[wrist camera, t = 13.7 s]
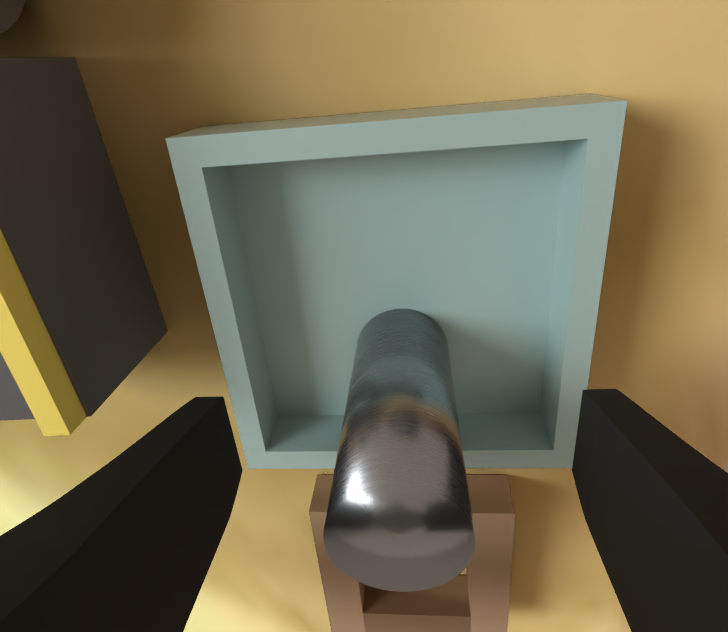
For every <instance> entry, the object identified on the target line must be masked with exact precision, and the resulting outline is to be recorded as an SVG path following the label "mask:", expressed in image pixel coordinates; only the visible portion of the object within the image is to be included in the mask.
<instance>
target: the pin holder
mask: <svg viewBox="0 0 728 632" xmlns="http://www.w3.org/2000/svg"><path fill="white" fill-rule="evenodd" d="M466 478H467V485H468V492H469V499H470V506H471V513H472V520H473V528H474V535H475V550H474V553H473V557H472V559H471V560H470V562H469V564H468V565H467V575H457V576H456V577H455V578H453V579H452V580H450V581H448V582H446V583H444V584H442V585H439V586H437V587H433V588H430V589H426V590H421V591H412V592H398V591H388V590H382V589H378V588H374V587H371V586H368V585H365V584H363V583H360V582H358V581H356V580H354V579H353V578H351V577H349V576H348V575H346V574H345V573H344V572H342V571H341V570H340V569H339V568H338V567H337V566H336V565H335V564H334V563H333V562H332V560H331V559H330V557H329V555H328V553H327V551H326V549H325V545H324V541H323V532H324V525H325V519H326V514H327V508H328V503H329V497H330V492H331V486H332V480H333V475H317V479H316V483H315V488H314V492H313V497H312V501H311V505H310V510H309V515H310V520H311V525H312V531H313V536H314V541H315V547H316V552H317V557H318V563H319V568H320V573H321V578H322V584H323V589H324V594H325V600H326V605H327V610H328V616H329V621H330V626H331V632H507V626H508V612H509V598H510V584H511V570H512V555H513V541H514V527H515V509H514V505H513V501H512V496H511V492H510V487H509V483H508V478H507V475H466Z"/></svg>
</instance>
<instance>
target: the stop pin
mask: <svg viewBox="0 0 728 632" xmlns="http://www.w3.org/2000/svg"><path fill="white" fill-rule="evenodd" d="M323 541H324V545H325V549H326V551H327V553H328V555H329V557H330V559H331V560H332V562H333V563H334V564H335V565H336V566H337V567H338V568H339V569H340V570H341V571H342V572H344V573H345V574H346V575H348V576H349V577H351V578H353V579H354V580H356V581H358V582H360V583H363V584H365V585H368V586H371V587H374V588H378V589H382V590H388V591H398V592H412V591H421V590H426V589H430V588H433V587H437V586H439V585H442V584H444V583H446V582H448V581H450V580H452V579H453V578H455V577H456V576H457V575H459V574H460V573H461V572H462V571H463V570H464V569H465V568H466V567H467V565H468V564H469V562H470V560H471V559H472V557H473V553H474V550H475V535H474V528H473V520H472V513H471V506H470V499H469V492H468V485H467V478H466V471H465V463H464V456H463V449H462V442H461V435H460V428H459V421H458V414H457V406H456V399H455V392H454V385H453V378H452V371H451V364H450V357H449V349H448V343H447V338H446V336H445V333H444V331H443V330H442V328H441V327H440V325H439V324H438V323H437V322H436V321H435V320H434V319H432V318H431V317H429V316H428V315H426V314H424V313H422V312H419V311H416V310H412V309H393V310H388V311H385V312H382V313H380V314H378V315H376V316H375V317H373V318H372V319H371V320H370V321H368V322H367V324H366V325H365V326H364V327H363V329H362V330H361V333H360V335H359V338H358V342H357V347H356V353H355V358H354V364H353V369H352V375H351V381H350V386H349V392H348V397H347V403H346V408H345V414H344V419H343V425H342V431H341V436H340V442H339V447H338V453H337V458H336V464H335V469H334V475H333V480H332V486H331V492H330V497H329V503H328V508H327V514H326V519H325V525H324V532H323Z"/></svg>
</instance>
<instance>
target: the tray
mask: <svg viewBox="0 0 728 632" xmlns="http://www.w3.org/2000/svg"><path fill="white" fill-rule="evenodd" d="M626 106H627V100H622V99H617V98H612V97H607V96H602V95H597V94H592V93H591V94H579V95H567V96H556V97H544V98H532V99H520V100H508V101H496V102H484V103H473V104H461V105H449V106H437V107H425V108H413V109H401V110H389V111H378V112H366V113H354V114H342V115H330V116H318V117H306V118H295V119H283V120H271V121H259V122H247V123H235V124H223V125H212V126H202V127H199V128H196V129H193V130H190V131H187V132H184V133H181V134H177V135H174V136H171V137H168V138H165V139H166V143H167V147H168V151H169V155H170V159H171V163H172V167H173V171H174V175H175V179H176V183H177V187H178V191H179V195H180V199H181V203H182V207H183V211H184V215H185V219H186V223H187V227H188V231H189V235H190V239H191V243H192V247H193V251H194V255H195V259H196V263H197V267H198V271H199V275H200V279H201V283H202V287H203V291H204V295H205V299H206V303H207V307H208V311H209V315H210V319H211V323H212V327H213V331H214V335H215V339H216V343H217V347H218V351H219V355H220V359H221V363H222V367H223V371H224V375H225V379H226V383H227V387H228V391H229V395H230V398H231V402H232V406H233V410H234V414H235V418H236V422H237V426H238V430H239V434H240V438H241V442H242V446H243V450H244V454H245V458H246V462H247V466H248V469H335V464H336V458H337V453H338V447H339V442H340V436H341V431H342V425H343V419H344V414H345V408H346V403H347V397H348V392H349V386H350V381H351V375H352V369H353V364H354V358H355V353H356V347H357V342H358V338H359V335H360V333H361V330H362V329H363V327H364V326H365V325H366V324H367V322H368V321H370V320H371V319H372V318H373V317H375V316H376V315H378V314H380V313H382V312H385V311H388V310H393V309H412V310H416V311H419V312H422V313H424V314H426V315H428V316H429V317H431V318H432V319H434V320H435V321H436V322H437V323H438V324H439V325H440V327H441V328H442V330H443V331H444V333H445V336H446V338H447V343H448V349H449V357H450V364H451V371H452V378H453V385H454V392H455V399H456V406H457V414H458V421H459V428H460V435H461V442H462V449H463V456H464V463H465V468H572V466H573V458H574V451H575V443H576V436H577V429H578V421H579V414H580V406H581V399H582V391H583V390H587V387H588V379H589V372H590V365H591V358H592V351H593V343H594V336H595V329H596V322H597V315H598V308H599V300H600V293H601V286H602V279H603V272H604V264H605V257H606V250H607V243H608V236H609V228H610V221H611V214H612V207H613V200H614V192H615V185H616V178H617V171H618V164H619V157H620V149H621V142H622V135H623V128H624V121H625V113H626Z"/></svg>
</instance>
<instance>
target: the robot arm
mask: <svg viewBox="0 0 728 632" xmlns="http://www.w3.org/2000/svg"><path fill="white" fill-rule="evenodd" d="M572 472H573V476H574V480H575V484H576V488H577V491H578V495H579V499H580V502H581V506H582V509H583V513H584V516H585V520H586V522H587V525H588V527H589V530H590V532H591V535H592V537H593V540H594V542H595V544H596V547H597V549H598V552H599V554H600V557H601V559H602V562H603V564H604V566H605V569H606V571H607V574H608V576H609V578H610V581H611V583H612V586H613V588H614V590H615V593H616V595H617V598H618V600H619V602H620V605H621V607H622V610H623V612H624V614H625V617H626V619H627V622H628V624H629V626H630V629H631V631H632V632H728V473H727V472H725V471H724V470H723V469H721V468H720V467H718V466H717V465H716V464H714V463H713V462H712V461H710V460H709V459H707V458H706V457H705V456H703V455H702V454H701V453H699V452H698V451H697V450H695V449H694V448H693V447H691V446H690V445H689V444H687V443H686V442H685V441H683V440H682V439H681V438H679V437H678V436H677V435H675V434H674V433H673V432H672V431H670V430H669V429H668V428H666V427H665V426H664V425H663V424H661V423H660V422H659V421H657V420H656V419H655V418H654V417H652V416H651V415H650V414H648V413H647V412H646V411H645V410H643V409H642V408H641V407H639V406H638V405H637V404H636V403H634V402H633V401H632V400H630V399H629V398H628V397H626V396H625V395H624V394H622V393H621V392H620V391H618V390H617V389H592V390H583V391H582V399H581V406H580V414H579V421H578V429H577V436H576V443H575V451H574V458H573V466H572ZM241 474H242V467H241V463H240V459H239V456H238V452H237V448H236V444H235V440H234V436H233V432H232V428H231V425H230V421H229V417H228V413H227V409H226V405H225V401H224V398H223V397H195V398H194V399H192V400H191V401H189V402H188V403H186V404H185V405H183V406H182V407H181V408H179V409H178V410H177V411H175V412H174V413H173V414H172V415H170V416H169V417H168V418H166V419H165V420H164V421H163V422H161V423H160V424H159V425H157V426H156V427H155V428H154V429H152V430H151V431H150V432H148V433H147V434H146V435H145V436H143V437H142V438H141V439H139V440H138V441H137V442H136V443H134V444H133V445H132V446H130V447H129V448H128V449H126V450H125V451H124V452H123V453H121V454H120V455H119V456H117V457H116V458H115V459H113V460H112V461H111V462H109V463H108V464H107V465H105V466H104V467H102V468H101V469H100V470H98V471H97V472H96V473H94V474H93V475H91V476H90V477H89V478H87V479H86V480H84V481H83V482H82V483H80V484H79V485H77V486H76V487H75V488H73V489H72V490H70V491H69V492H68V493H66V494H65V495H63V496H62V497H61V498H59V499H58V500H56V501H55V502H53V503H52V504H50V505H49V506H47V507H46V508H44V509H43V510H41V511H40V512H38V513H36V514H35V515H33V516H32V517H30V518H29V519H27V520H25V521H24V522H22V523H21V524H19V525H17V526H16V527H14V528H12V529H11V530H9V531H8V532H6V533H4V534H3V535H1V536H0V632H183V631H184V628H185V625H186V623H187V620H188V618H189V615H190V613H191V611H192V608H193V606H194V603H195V601H196V599H197V596H198V594H199V591H200V589H201V586H202V584H203V582H204V579H205V577H206V574H207V572H208V570H209V567H210V565H211V562H212V560H213V558H214V555H215V553H216V550H217V548H218V545H219V543H220V540H221V538H222V536H223V533H224V531H225V528H226V526H227V523H228V521H229V518H230V515H231V512H232V508H233V505H234V501H235V498H236V494H237V490H238V486H239V482H240V478H241Z"/></svg>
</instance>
